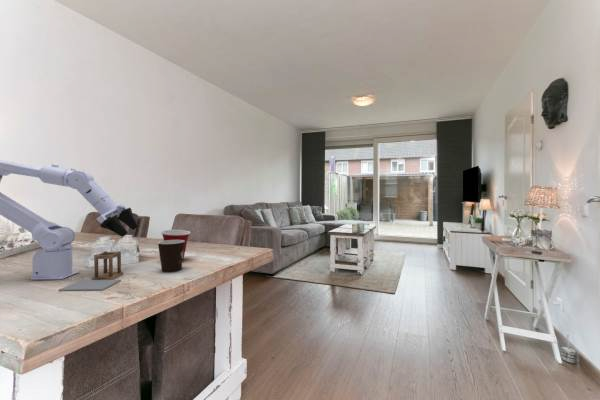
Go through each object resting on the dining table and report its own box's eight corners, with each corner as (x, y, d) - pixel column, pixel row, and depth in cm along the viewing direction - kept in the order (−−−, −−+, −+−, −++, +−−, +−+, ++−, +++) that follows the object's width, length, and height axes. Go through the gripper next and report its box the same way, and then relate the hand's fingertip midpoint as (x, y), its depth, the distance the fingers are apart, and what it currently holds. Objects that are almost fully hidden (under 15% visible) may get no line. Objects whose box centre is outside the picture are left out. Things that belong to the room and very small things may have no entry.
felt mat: (58, 291, 78) (58, 289, 78) (80, 281, 86) (80, 280, 86) (102, 290, 78) (102, 289, 78) (120, 280, 87) (120, 279, 87)
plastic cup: (180, 264, 106) (180, 233, 106) (155, 263, 108) (154, 232, 108) (196, 258, 117) (195, 229, 117) (172, 256, 119) (172, 228, 118)
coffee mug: (174, 274, 94) (174, 244, 94) (152, 272, 96) (152, 243, 96) (194, 265, 106) (194, 238, 105) (174, 263, 107) (174, 238, 107)
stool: (92, 280, 87) (91, 255, 87) (104, 275, 93) (104, 251, 93) (112, 280, 87) (111, 255, 87) (123, 275, 93) (122, 251, 93)
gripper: (97, 198, 87) (129, 231, 90) (121, 190, 101) (148, 218, 104) (80, 212, 88) (112, 244, 91) (106, 202, 102) (133, 230, 105)
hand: (130, 231), depth 98 cm, fingers open, 7 cm apart
